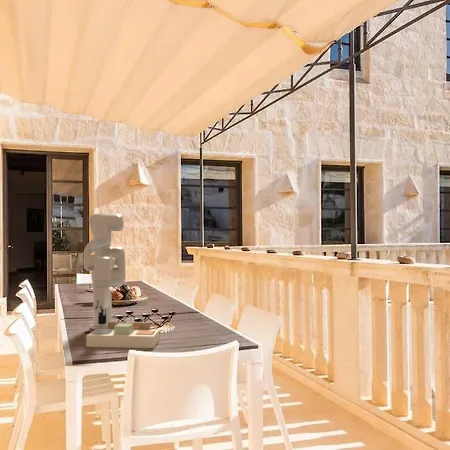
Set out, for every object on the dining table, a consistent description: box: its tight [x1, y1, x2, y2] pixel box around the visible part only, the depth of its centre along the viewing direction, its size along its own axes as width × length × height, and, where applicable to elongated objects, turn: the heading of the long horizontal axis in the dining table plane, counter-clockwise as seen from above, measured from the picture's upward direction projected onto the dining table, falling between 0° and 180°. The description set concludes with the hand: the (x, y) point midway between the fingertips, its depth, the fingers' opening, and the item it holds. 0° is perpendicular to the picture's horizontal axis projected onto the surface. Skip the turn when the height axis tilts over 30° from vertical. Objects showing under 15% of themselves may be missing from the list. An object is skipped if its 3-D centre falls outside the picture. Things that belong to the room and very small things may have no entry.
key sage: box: [114, 323, 133, 335], centre depth 231 cm, size 7×7×4 cm
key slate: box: [92, 329, 112, 334], centre depth 232 cm, size 7×7×4 cm
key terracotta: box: [136, 330, 155, 335], centre depth 230 cm, size 7×7×4 cm
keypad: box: [85, 321, 161, 349], centre depth 232 cm, size 30×17×8 cm, turn 86°
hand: (102, 323), depth 232 cm, fingers closed
